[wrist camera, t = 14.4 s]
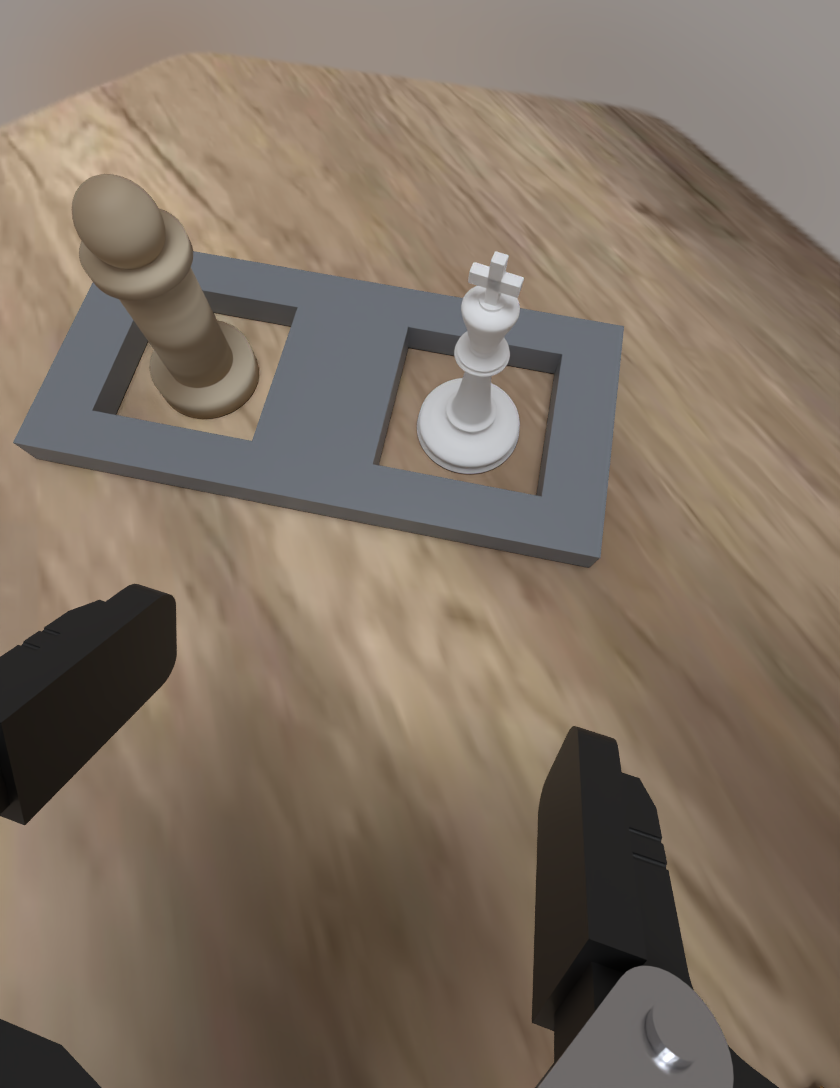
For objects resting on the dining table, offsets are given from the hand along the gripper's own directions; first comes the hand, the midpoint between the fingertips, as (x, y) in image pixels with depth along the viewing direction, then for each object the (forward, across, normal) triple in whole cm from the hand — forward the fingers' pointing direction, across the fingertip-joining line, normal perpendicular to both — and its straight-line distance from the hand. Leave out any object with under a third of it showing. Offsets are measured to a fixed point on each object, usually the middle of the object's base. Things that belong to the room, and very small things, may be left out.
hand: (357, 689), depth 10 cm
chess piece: (+18, +1, -1) cm, 18 cm away
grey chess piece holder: (+18, +7, -1) cm, 19 cm away
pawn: (+17, +14, 0) cm, 22 cm away
